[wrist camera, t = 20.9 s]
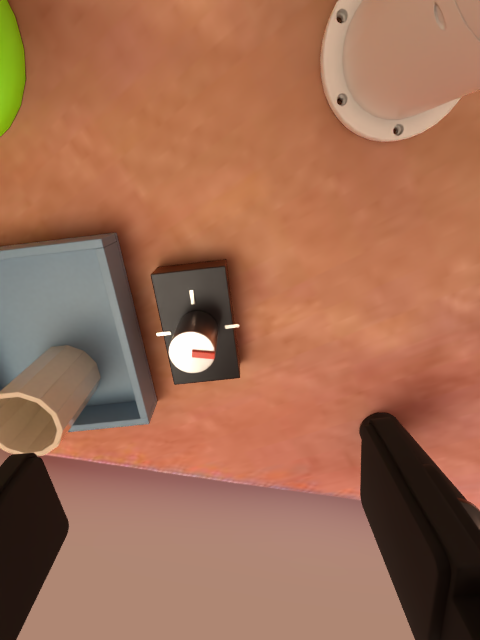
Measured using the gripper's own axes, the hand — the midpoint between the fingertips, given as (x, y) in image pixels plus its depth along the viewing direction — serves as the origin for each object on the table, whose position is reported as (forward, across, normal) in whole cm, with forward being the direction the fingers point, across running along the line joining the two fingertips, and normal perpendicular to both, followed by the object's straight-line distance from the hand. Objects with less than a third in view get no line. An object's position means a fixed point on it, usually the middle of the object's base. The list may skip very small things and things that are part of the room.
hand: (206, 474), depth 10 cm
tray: (+26, +19, +5) cm, 33 cm away
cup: (+26, +19, +10) cm, 33 cm away
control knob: (+23, +3, +5) cm, 24 cm away
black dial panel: (+26, +4, +5) cm, 27 cm away
